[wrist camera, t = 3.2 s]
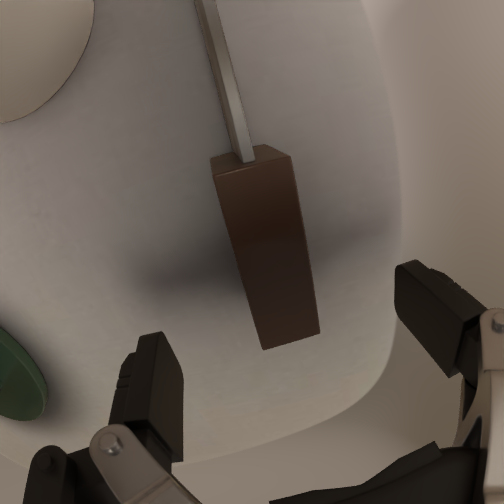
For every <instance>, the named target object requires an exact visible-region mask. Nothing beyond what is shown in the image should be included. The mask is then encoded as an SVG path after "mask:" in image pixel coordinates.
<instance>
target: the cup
mask: <svg viewBox="0 0 504 504" xmlns="http://www.w3.org/2000/svg"><path fill="white" fill-rule="evenodd" d="M93 15H94V2H93V0H0V123H2V122H9V121H13V120H16V119H19V118H22V117H25V116H26V115H28V114H30V113H31V112H33V111H35V110H37V109H38V108H39V107H40V106H42V105H43V104H44V103H45V102H47V101H48V100H49V99H50V98H51V97H52V96H53V95H54V94H55V93H56V92H57V91H58V90H59V89H60V88H61V87H62V86H63V84H64V83H65V81H66V80H67V79H68V77H69V76H70V74H71V73H72V72H73V70H74V69H75V67H76V65H77V63H78V61H79V60H80V58H81V56H82V54H83V52H84V49H85V47H86V44H87V42H88V39H89V37H90V32H91V28H92V23H93Z"/></svg>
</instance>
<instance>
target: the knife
mask: <svg viewBox="0 0 504 504" xmlns="http://www.w3.org/2000/svg"><path fill="white" fill-rule="evenodd" d="M194 2H195V6H196V10H197V13H198V17H199V21H200V25H201V29H202V33H203V36H204V40H205V44H206V48H207V52H208V56H209V59H210V63H211V67H212V71H213V75H214V79H215V83H216V87H217V91H218V94H219V98H220V102H221V106H222V110H223V114H224V118H225V122H226V126H227V130H228V134H229V138H230V142H231V145H232V149H233V152H231V153H227V154H223V155H220V156H216V157H212V158H210V163H211V169H212V176H213V180H214V184H215V187H216V191H217V195H218V198H219V202H220V205H221V209H222V212H223V216H224V220H225V223H226V227H227V230H228V234H229V237H230V241H231V244H232V248H233V251H234V255H235V258H236V262H237V265H238V269H239V272H240V276H241V279H242V283H243V286H244V289H245V293H246V296H247V300H248V303H249V307H250V310H251V313H252V317H253V320H254V323H255V327H256V330H257V334H258V337H259V340H260V344H261V347H262V349H263V350H267V349H270V348H274V347H277V346H281V345H284V344H287V343H291V342H294V341H297V340H301V339H304V338H307V337H310V336H314V335H317V334H319V333H320V326H319V319H318V312H317V305H316V298H315V291H314V284H313V278H312V271H311V265H310V259H309V253H308V247H307V241H306V235H305V229H304V224H303V218H302V212H301V207H300V202H299V196H298V191H297V186H296V181H295V176H294V171H293V166H292V161H291V157H290V156H289V155H287V154H284V153H282V152H280V151H278V150H276V149H274V148H272V147H270V146H268V145H266V144H263V145H259V146H255V147H252V143H251V139H250V135H249V131H248V127H247V123H246V119H245V114H244V110H243V106H242V102H241V98H240V94H239V90H238V86H237V82H236V78H235V75H234V71H233V67H232V63H231V59H230V55H229V51H228V47H227V44H226V40H225V36H224V32H223V28H222V25H221V21H220V17H219V14H218V10H217V6H216V3H215V0H194Z"/></svg>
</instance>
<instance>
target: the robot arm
mask: <svg viewBox="0 0 504 504" xmlns="http://www.w3.org/2000/svg"><path fill="white" fill-rule="evenodd" d="M394 306H395V310H396V313H397V315H398V317H399V318H400V320H401V321H402V322H403V323H404V325H405V326H406V327H407V328H408V329H409V330H410V332H411V333H412V334H413V335H414V336H415V338H416V339H417V340H418V341H419V342H420V343H421V345H422V346H423V347H424V348H425V350H426V351H427V352H428V353H429V354H430V356H431V357H432V358H433V359H434V361H435V362H436V363H437V364H438V365H439V367H440V368H441V369H442V371H443V372H444V373H445V374H446V376H447V377H448V378H450V377H452V376H454V375H456V374H457V373H459V372H461V374H462V375H463V379H462V383H461V396H460V409H459V419H458V427H457V432H456V435H455V438H454V441H453V444H452V447H447V448H441V449H439V448H438V446H437V444H436V443H435V441H433V442H431V443H429V444H427V445H426V446H424V447H422V448H420V449H418V450H416V451H414V452H412V453H410V454H408V455H405V456H403V457H401V458H399V459H397V460H396V461H395V462H393V463H392V464H391V465H389V466H388V467H387V468H385V469H384V470H382V471H381V472H380V473H378V474H377V475H376V476H374V477H373V478H371V479H369V480H368V481H366V482H365V483H363V484H361V485H357V486H351V487H344V488H335V489H323V490H312V491H309V492H305V493H301V494H297V495H294V496H290V497H285V498H281V499H277V500H273V501H269V504H504V309H503V308H491V309H487V308H486V307H484V306H483V305H482V304H481V303H480V302H479V301H478V300H476V299H475V298H474V297H473V296H472V295H470V294H469V293H468V292H467V291H466V290H464V289H461V286H459V285H458V284H457V283H456V282H455V283H454V281H453V280H452V279H451V278H449V277H448V276H447V275H445V274H444V273H442V272H439V271H437V270H434V269H429V268H427V267H426V266H425V265H424V264H422V263H421V262H419V261H418V260H412V261H409V262H406V263H403V264H400V265H397V266H396V268H395V292H394ZM116 387H117V389H116V390H115V395H114V399H113V404H112V408H111V413H110V418H109V423H108V426H105V427H103V428H102V429H100V430H99V431H98V432H97V433H96V434H95V435H94V436H93V438H92V439H91V442H90V445H89V447H87V448H85V449H82V450H79V451H76V452H73V453H70V454H66V453H65V452H64V451H63V450H62V449H61V448H60V447H58V446H55V445H49V446H45V447H43V448H42V449H40V450H39V451H38V452H37V453H36V454H35V455H34V457H33V459H32V461H31V465H30V469H29V474H28V478H27V483H26V488H25V493H24V499H23V504H202V503H201V502H200V501H199V500H198V499H197V498H195V497H194V496H193V495H192V494H191V493H190V492H189V491H188V490H187V489H186V488H185V487H184V486H183V485H182V484H181V483H180V482H179V481H178V480H177V479H176V477H175V476H173V474H172V473H171V463H174V462H183V390H184V379H183V373H182V369H181V366H180V364H179V362H178V360H177V358H176V356H175V354H174V352H173V350H172V348H171V346H170V344H169V342H168V340H167V338H166V336H165V334H164V333H163V332H162V331H160V332H156V333H151V334H147V335H142V336H140V337H139V340H138V344H137V349H136V352H134V353H130V354H129V355H128V356H127V358H126V359H125V361H124V362H123V364H122V365H121V369H120V373H119V379H118V382H117V386H116Z"/></svg>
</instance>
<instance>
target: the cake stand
mask: <svg viewBox="0 0 504 504" xmlns="http://www.w3.org/2000/svg"><path fill="white" fill-rule="evenodd" d="M47 400H48V392H47V386H46V383H45V381H44V378H43V376H42V374H41V372H40V370H39V369H38V367H37V366H36V364H35V363H34V361H33V360H32V359H31V357H30V356H29V355H28V353H27V352H26V351H25V350H24V349H23V348H22V347H21V346H20V345H19V344H18V343H17V342H16V341H15V340H14V339H13V338H12V337H11V336H10V335H9V334H8V333H7V332H5V331H4V330H3V329H2V328H0V415H2V416H4V417H7V418H10V419H14V420H19V421H31V420H35V419H37V418H39V417H40V416H41V415H42V413H43V412H44V409H45V406H46V403H47Z"/></svg>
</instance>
